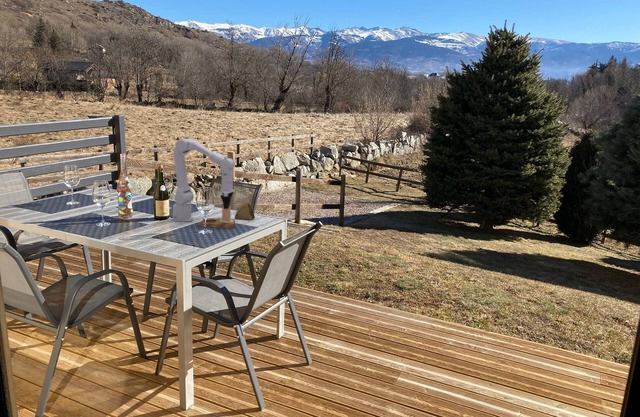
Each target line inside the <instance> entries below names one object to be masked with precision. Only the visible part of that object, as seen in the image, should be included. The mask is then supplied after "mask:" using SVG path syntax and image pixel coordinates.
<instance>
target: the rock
mask: <svg viewBox="0 0 640 417" xmlns="http://www.w3.org/2000/svg"><path fill="white" fill-rule="evenodd" d="M235 218H236V219H238V220H244V219H252V220H255V219H256V216H255V213H254V210H253V208H252V206H251V204H250V203H249V202H244V203H243V204H241V206H240V207H239V209H237V210H236V213H235V215H234V219H235ZM254 218H255V219H254ZM236 219H235V220H236Z"/></svg>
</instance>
